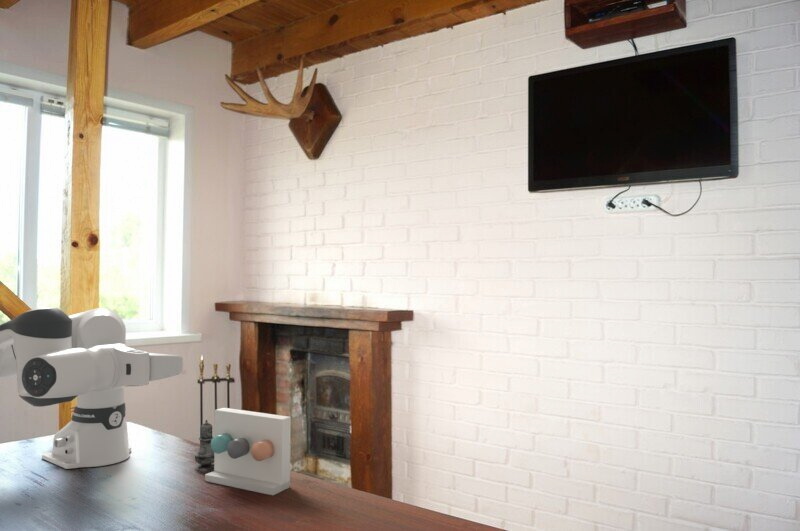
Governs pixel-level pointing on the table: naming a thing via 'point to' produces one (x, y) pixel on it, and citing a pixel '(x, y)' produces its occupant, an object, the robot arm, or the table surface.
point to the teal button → (220, 443)
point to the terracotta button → (262, 450)
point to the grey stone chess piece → (205, 449)
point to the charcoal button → (238, 448)
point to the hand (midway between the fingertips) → (167, 358)
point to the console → (245, 469)
